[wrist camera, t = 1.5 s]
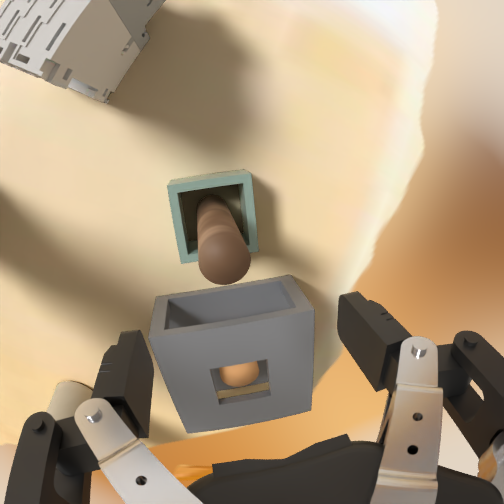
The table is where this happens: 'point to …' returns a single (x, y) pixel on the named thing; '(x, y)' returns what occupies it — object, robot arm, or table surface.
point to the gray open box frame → (235, 351)
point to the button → (239, 374)
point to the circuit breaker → (75, 40)
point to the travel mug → (68, 399)
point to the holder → (240, 177)
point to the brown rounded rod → (220, 243)
